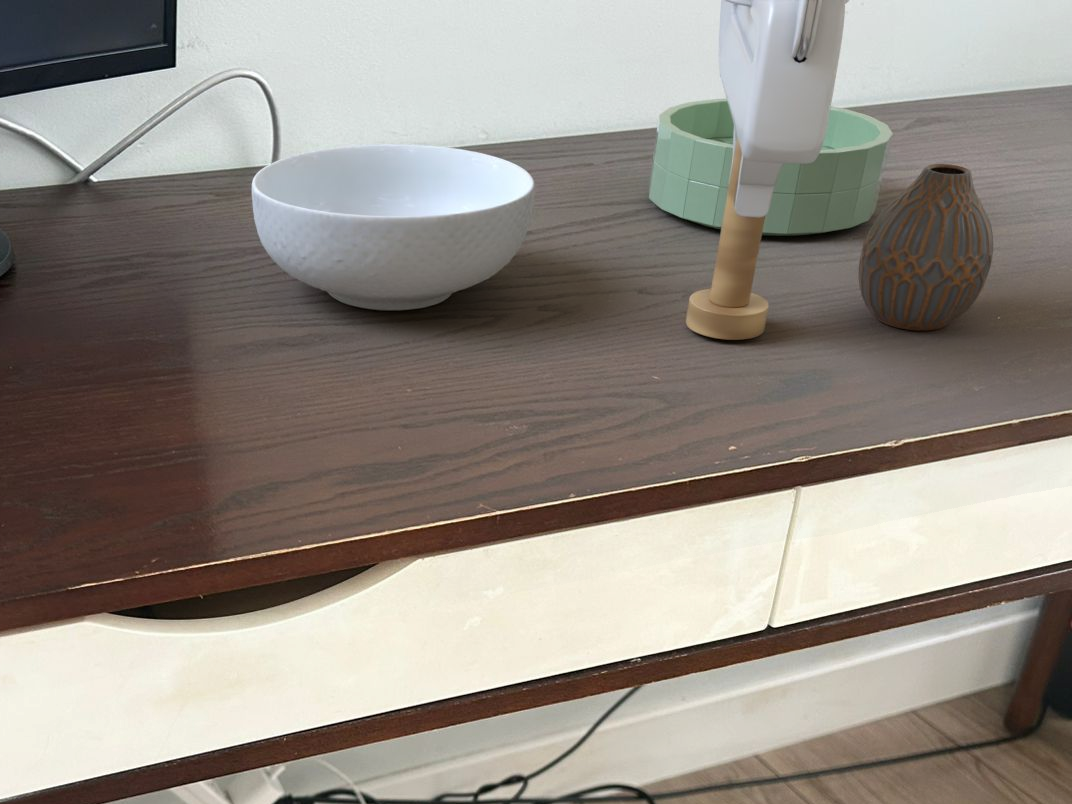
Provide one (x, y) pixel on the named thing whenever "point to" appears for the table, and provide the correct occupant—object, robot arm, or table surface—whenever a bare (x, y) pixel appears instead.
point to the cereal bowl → (392, 220)
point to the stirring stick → (732, 277)
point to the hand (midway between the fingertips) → (747, 203)
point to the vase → (927, 252)
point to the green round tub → (800, 190)
